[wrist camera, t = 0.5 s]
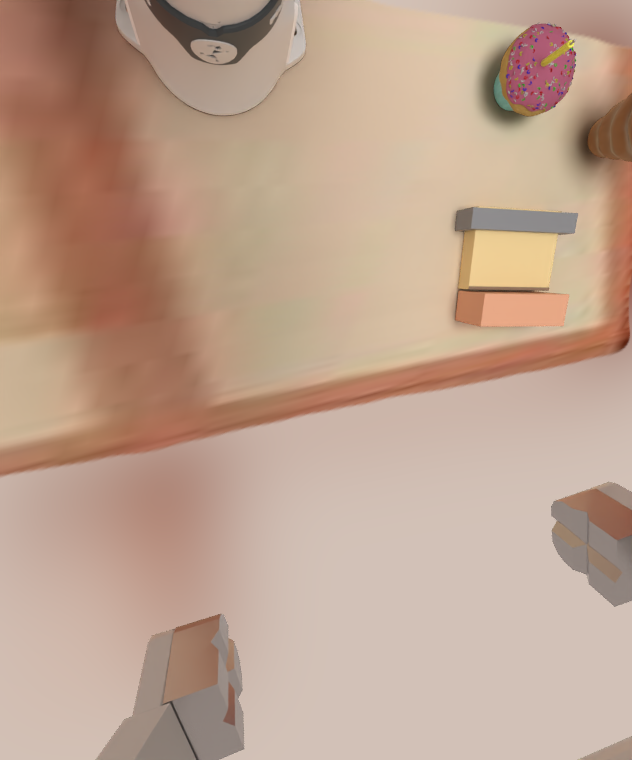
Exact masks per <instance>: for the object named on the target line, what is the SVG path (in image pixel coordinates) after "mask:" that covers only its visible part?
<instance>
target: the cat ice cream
mask: <svg viewBox="0 0 632 760" xmlns="http://www.w3.org/2000/svg"><path fill="white" fill-rule="evenodd" d="M588 148H589V150H590V151H591V153H593V154H594V155H596V156H598V157H601V158H606V157H607V158H609V159H615V160H619V159H621V160H624V161H630V162H632V93H631V94H630V95H629V96H628V97H627V98H626V99H625V100H623V101H621V102H620V103H618V104H617V105H615V106H614V107H613V108H612V109H611V110H610V111H609V112H608V113H607V114H606V116H605V117H602V118H600V119H599V120H598V121H597V122H596V123H595V124H594V125H593V127H592V128H591V130H590V132H589V135H588Z"/></svg>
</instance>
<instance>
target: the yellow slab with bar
mask: <svg viewBox="0 0 632 760" xmlns="http://www.w3.org/2000/svg"><path fill="white" fill-rule="evenodd" d="M577 217H578V213H562V211H545V210H529V209H512V208H495V207H479V206H478V207H472V208H468V209H464V210H459V211H457V217H456V226H455V231H465V233H464V242H463V251H462V259H461V268H460V277H459V285H458V288H460V289H473V290H542V291H549V283H550V277H551V271H552V265H553V260H554V254H555V248H556V242H557V237H558V235H562V234H573V233H575V228H576V222H577Z"/></svg>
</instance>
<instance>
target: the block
mask: <svg viewBox="0 0 632 760" xmlns="http://www.w3.org/2000/svg"><path fill="white" fill-rule="evenodd" d="M568 299H569V295H567V294H556V293H544V292H518V291H459V292H458V301H457V310H456V318H455V320H456V321H460V322H464V323H468V324H472V325H477V326H563V325H564V320H565V314H566V309H567V304H568Z"/></svg>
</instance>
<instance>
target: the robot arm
mask: <svg viewBox="0 0 632 760" xmlns="http://www.w3.org/2000/svg"><path fill="white" fill-rule="evenodd" d="M127 11H128V12H127ZM115 19H116V24H117V28H118V30H119V32H120V34H121V35H122V36H123V37H124V38H125V39H126V40H127V41H128V42H129V43H130V44H131V45H133V46H134V47H135V48H136V49H137V50H139V51H140V52H141V53H143V54H144V55H145V57H146V58H147V59H148V61H149V62H150V64H151V65H152V67H153V69H154V70H155V72H156V73H157V75H158V76H159V78H160V79H161V81H162V82H163V83H164V84H165V86H166V87H167V88H168V89H169V90H170V91H171V92H172V93H173V94H174V95H175V96H176V97H178V98H179V99H180V100H182V101H183V102H184V103H186V104H187V105H189V106H191V107H193V108H195V109H197V110H199V111H202V112H205V113H209V114H213V115H234V114H239V113H242V112H245V111H247V110H250V109H252V108H253V107H255V106H256V105H258V104H259V103H260V102H261V101H263V100H264V99H265V98H266V97H267V96H268V94H269V93H270V92H271V90H272V89H273V87H274V86H275V84H276V82H277V81H278V79H279V78H280V76H281V75H282V74H283V72H284V71H286V70H287V69H289V68H290V67H292V66H294V65H295V64H296V63H298V62H299V61H300V60H301V59H302V58H303V56H304V54H305V49H306V39H305V33H304V26H303V19H302V12H301V5H300V0H117V2H116V13H115ZM295 32H296V35H295V36H294V33H295ZM551 515H552V516H553V517H554V518H555V519H556V520H557V522H556V524H555V526H554V528H553V529H552V538H553V543H554V546H555V548H556V550H557V552H558V554H559V555H560V557H561V558H562V559H563V560H564V562H565V563H566V564H567V565H568V566H570V567H571V568H572V569H573V570H576V571H578V572H581V573H584V574H587V578H588V582H589V584H590V585H591V586H592V587H593V588H594V589H595V590H596V591H598V592H599V593H600V594H601V595H602V596H603V597H604V598H605V599H607V600H608V601H609V602H610V603H611V604H612V605H613V606H618V605H621V604H624V603H627V602H629V601H632V492H631V491H629V490H627V489H625V488H623V487H622V486H620V485H618V484H616V483H612V482H607V483H604V484H602V485H599V486H596V487H593V488H591V489H588V490H585V491H582V492H579V493H576V494H574V495H571V496H568V497H565V498H562V499H559V500H556V501H554V502H553V504H552V506H551ZM241 692H242V674H241V667H240V660H239V656H238V652H237V649H236V646H235V643H234V641H233V640H231V639H229V638H228V624H227V622H226V619H225V617H224V615H223V614H218V615H215V616H212V617H209V618H206V619H203V620H199V621H196V622H193V623H189V624H187V625H183V626H180V627H176V628H175V629H172V630H169V631H166V632H162V633H159V634H155V635H153V636H152V637H151V639H150V641H149V642H148V645H147V650H146V654H145V660H144V664H143V669H142V673H141V678H140V682H139V687H138V692H137V697H136V701H135V706H134V711H133V715H132V717H129V718H126V719H124V721H123V722H122V724H121V725H120V726H119V728H118V729H117V731H116V732H115V733H114V735H113V736H112V738H111V739H110V740H109V742H108V743H107V745H106V746H105V747H104V749H103V750H102V752H101V753H100V755H99V756H98V757H97V759H96V760H219V759H222V758H224V757H226V756H228V755H231V754H234V753H236V752H238V751H241V750H243V749H244V724H243V711H242V708H241V705H240V703H239V700H238V698H239V696H240V694H241ZM578 760H632V736H631V737H629V738H626V739H624V740H622V741H620V742H617V743H615V744H613V745H610V746H608V747H606V748H603V749H601V750H599V751H597V752H594V753H592V754H590V755H587V756H585V757H583V758H580V759H578Z"/></svg>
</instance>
